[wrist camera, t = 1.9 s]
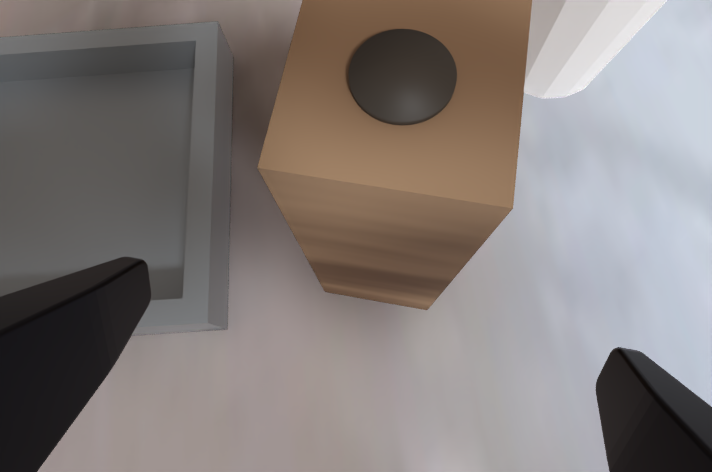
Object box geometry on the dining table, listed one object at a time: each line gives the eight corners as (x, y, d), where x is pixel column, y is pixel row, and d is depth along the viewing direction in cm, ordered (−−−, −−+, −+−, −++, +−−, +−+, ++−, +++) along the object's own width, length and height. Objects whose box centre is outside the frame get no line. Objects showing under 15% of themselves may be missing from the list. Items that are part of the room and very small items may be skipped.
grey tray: (227, 329, 20) (207, 323, 17) (-93, 349, 20) (-156, 346, 18) (233, 56, 24) (217, 21, 21) (-32, 76, 24) (-77, 43, 22)
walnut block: (427, 310, 20) (515, 205, 8) (325, 291, 20) (255, 163, 8) (440, 213, 21) (534, -8, 9) (344, 197, 21) (309, -36, 9)
